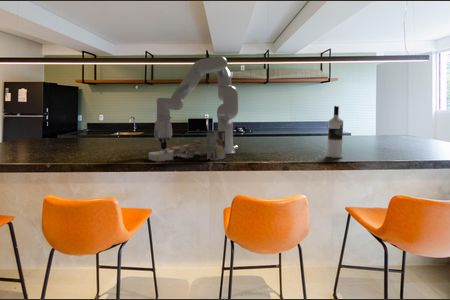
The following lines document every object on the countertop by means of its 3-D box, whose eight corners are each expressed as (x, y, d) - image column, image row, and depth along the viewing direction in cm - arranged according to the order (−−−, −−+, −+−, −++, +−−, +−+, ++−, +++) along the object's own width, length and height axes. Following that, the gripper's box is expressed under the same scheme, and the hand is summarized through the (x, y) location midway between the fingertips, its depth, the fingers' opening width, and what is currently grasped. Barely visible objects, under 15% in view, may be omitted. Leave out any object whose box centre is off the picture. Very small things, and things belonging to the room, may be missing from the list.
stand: (190, 152, 200) (189, 146, 200) (205, 155, 188) (205, 149, 188) (162, 156, 187) (161, 149, 186) (177, 159, 174) (177, 152, 174)
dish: (163, 157, 181) (163, 150, 181) (173, 159, 174) (173, 152, 173) (148, 159, 175) (148, 152, 174) (157, 161, 167) (157, 154, 167)
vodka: (332, 155, 187) (334, 105, 183) (345, 157, 180) (348, 105, 175) (322, 156, 182) (324, 105, 178) (335, 158, 175) (338, 105, 170)
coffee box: (217, 157, 181) (217, 130, 179) (225, 158, 177) (225, 130, 175) (206, 159, 174) (206, 131, 172) (214, 160, 170) (214, 131, 168)
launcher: (188, 145, 200) (188, 139, 199) (202, 147, 189) (201, 141, 188) (160, 150, 186) (159, 144, 185) (173, 153, 175) (172, 146, 175)
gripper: (170, 118, 191) (170, 147, 193) (149, 118, 181) (149, 149, 183) (177, 118, 185) (177, 148, 188) (155, 118, 175) (155, 150, 178)
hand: (163, 149), depth 185 cm, fingers closed
